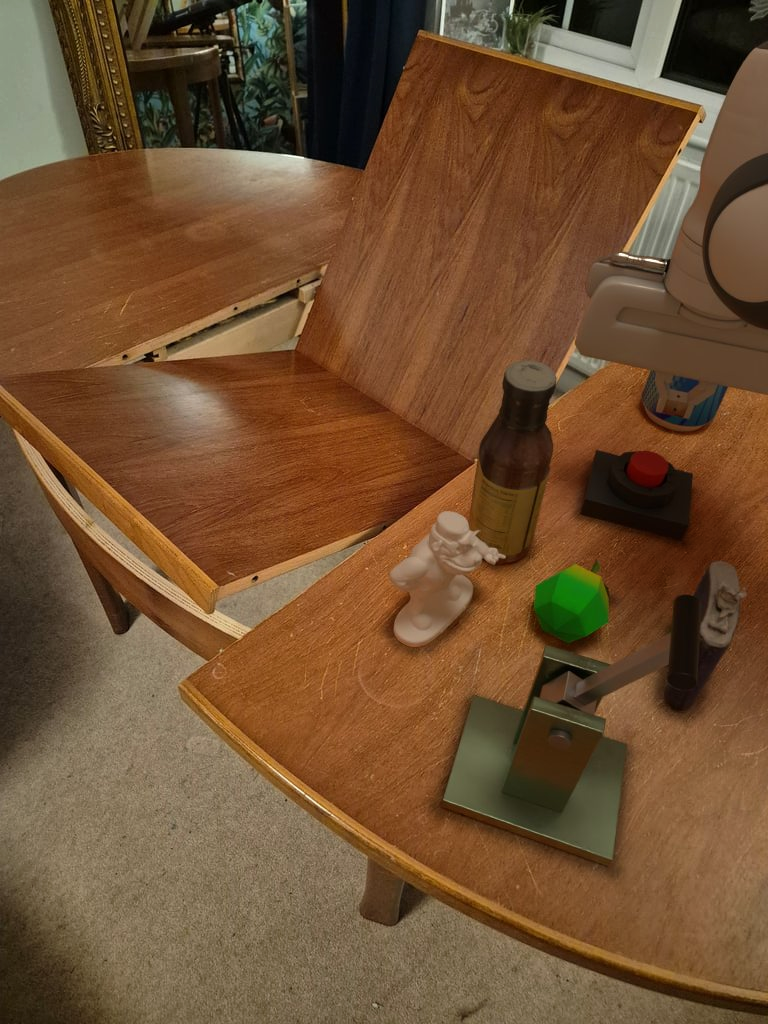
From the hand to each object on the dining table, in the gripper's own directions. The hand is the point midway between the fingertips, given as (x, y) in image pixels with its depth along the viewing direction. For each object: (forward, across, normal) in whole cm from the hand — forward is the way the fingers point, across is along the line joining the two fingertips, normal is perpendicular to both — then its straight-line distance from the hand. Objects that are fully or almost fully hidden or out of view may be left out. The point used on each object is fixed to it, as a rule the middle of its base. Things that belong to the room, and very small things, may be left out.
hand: (672, 412), depth 68 cm
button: (+8, 0, 0) cm, 8 cm away
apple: (+12, -4, -17) cm, 21 cm away
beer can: (+12, +3, +17) cm, 21 cm away
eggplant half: (+12, +6, -19) cm, 23 cm away
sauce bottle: (+12, -12, -11) cm, 20 cm away
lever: (-3, -1, -33) cm, 33 cm away
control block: (+12, 0, 0) cm, 12 cm away
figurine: (+12, -15, -21) cm, 28 cm away
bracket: (+12, -4, -33) cm, 35 cm away
